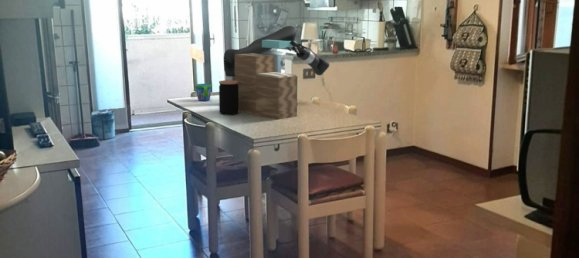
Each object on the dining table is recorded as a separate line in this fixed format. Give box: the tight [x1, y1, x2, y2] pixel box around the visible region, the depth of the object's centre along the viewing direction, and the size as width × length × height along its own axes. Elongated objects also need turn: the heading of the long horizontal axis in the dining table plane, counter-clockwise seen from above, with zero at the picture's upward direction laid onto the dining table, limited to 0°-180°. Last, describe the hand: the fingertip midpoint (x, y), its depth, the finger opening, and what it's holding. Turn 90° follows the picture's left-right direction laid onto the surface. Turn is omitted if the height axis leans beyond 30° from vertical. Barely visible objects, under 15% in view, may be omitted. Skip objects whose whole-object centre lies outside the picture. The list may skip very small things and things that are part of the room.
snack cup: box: [194, 83, 213, 102], centre depth 358 cm, size 16×10×10 cm
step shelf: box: [235, 53, 298, 120], centre depth 313 cm, size 14×36×32 cm, turn 45°
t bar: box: [262, 40, 298, 49], centre depth 323 cm, size 19×14×4 cm
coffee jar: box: [218, 79, 240, 116], centre depth 313 cm, size 11×11×18 cm
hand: (288, 41), depth 326 cm, fingers closed on t bar, 4 cm apart
